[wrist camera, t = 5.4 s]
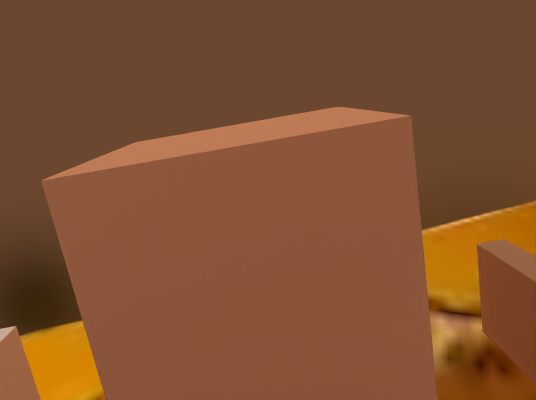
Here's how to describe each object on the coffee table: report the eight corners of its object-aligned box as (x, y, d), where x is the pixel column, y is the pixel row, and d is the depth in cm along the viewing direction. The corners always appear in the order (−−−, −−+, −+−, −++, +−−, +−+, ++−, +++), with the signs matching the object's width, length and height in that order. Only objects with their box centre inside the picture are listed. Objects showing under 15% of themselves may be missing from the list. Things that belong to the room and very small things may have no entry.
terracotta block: (461, 657, 10) (410, 115, 7) (195, 703, 10) (41, 180, 7) (383, 448, 16) (338, 106, 13) (216, 477, 16) (135, 142, 13)
